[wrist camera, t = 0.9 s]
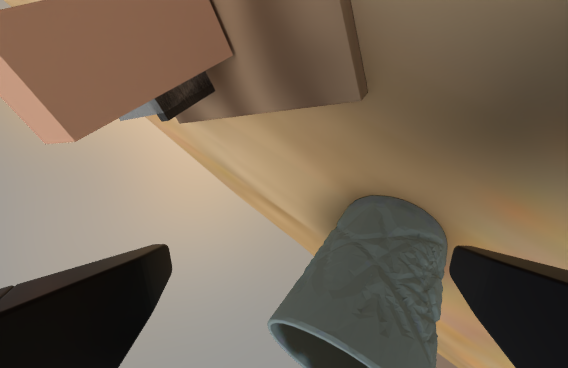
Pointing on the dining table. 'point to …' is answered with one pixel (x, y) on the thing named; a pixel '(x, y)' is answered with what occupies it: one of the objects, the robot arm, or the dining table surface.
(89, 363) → the robot arm
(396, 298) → the grey embossed cylinder
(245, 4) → the walnut board
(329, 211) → the dining table surface
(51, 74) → the terracotta peg
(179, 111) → the grey block
